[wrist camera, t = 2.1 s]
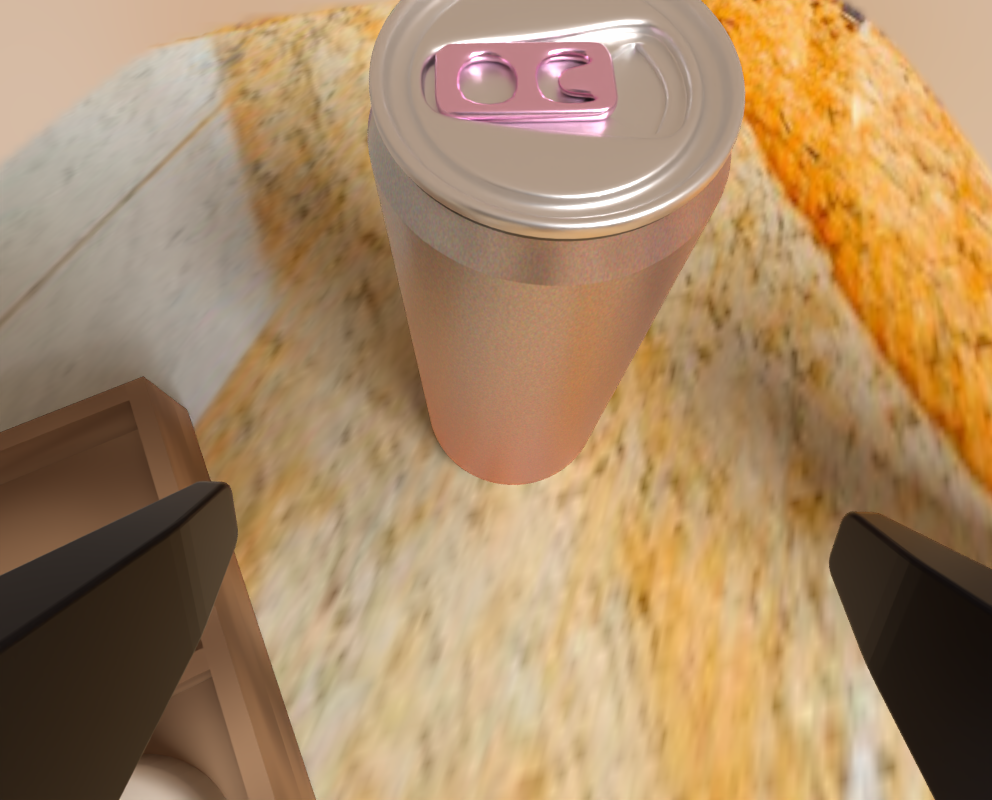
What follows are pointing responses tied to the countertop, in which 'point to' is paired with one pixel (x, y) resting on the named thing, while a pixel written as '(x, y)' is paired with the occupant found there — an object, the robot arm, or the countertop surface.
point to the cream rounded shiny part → (169, 781)
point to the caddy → (232, 623)
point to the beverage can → (543, 202)
